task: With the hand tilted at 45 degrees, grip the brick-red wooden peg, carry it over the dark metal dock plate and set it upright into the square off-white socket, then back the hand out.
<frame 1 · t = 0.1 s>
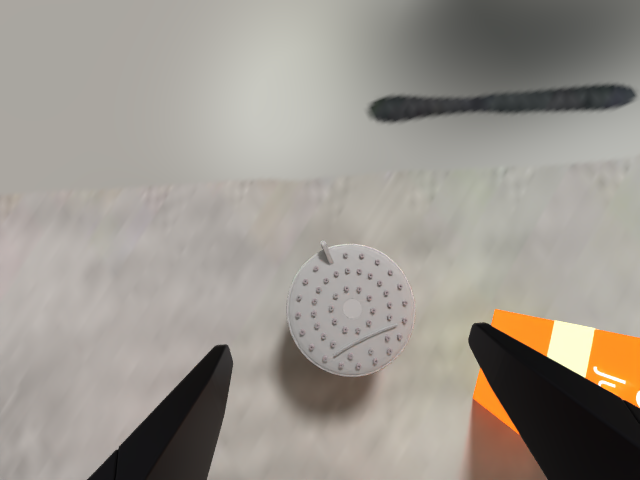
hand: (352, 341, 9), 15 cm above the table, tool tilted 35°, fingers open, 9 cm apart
orange juice: (519, 365, 23), on the table
showerhead: (340, 295, 24), on the table
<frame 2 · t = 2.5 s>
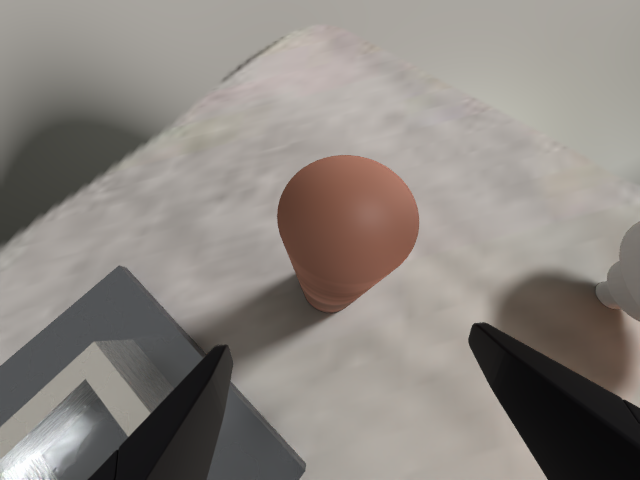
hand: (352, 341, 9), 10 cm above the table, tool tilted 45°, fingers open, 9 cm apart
dock: (123, 442, 16), on the table
showerhead: (606, 292, 20), on the table
peg: (329, 284, 20), on the table
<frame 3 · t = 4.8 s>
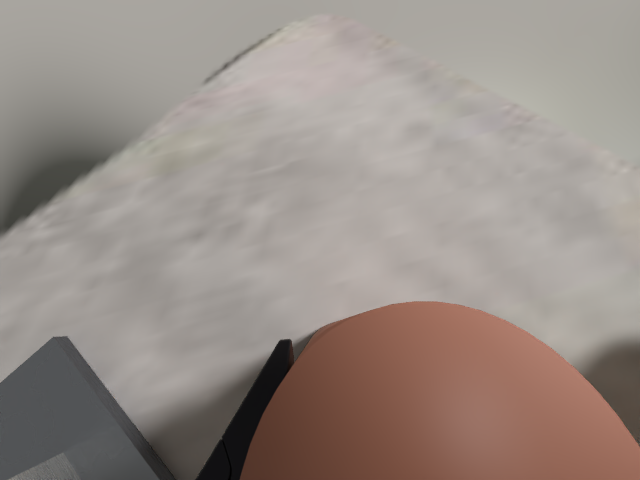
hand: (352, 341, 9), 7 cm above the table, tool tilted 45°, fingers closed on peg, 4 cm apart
peg: (340, 360, 15), on the table, touching gripper
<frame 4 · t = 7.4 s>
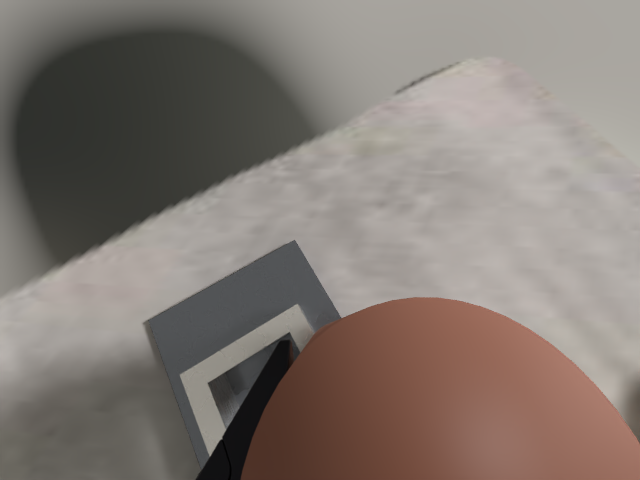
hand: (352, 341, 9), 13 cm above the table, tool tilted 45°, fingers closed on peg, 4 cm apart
dock: (279, 385, 19), on the table
peg: (340, 359, 15), point 6 cm above the table, touching gripper
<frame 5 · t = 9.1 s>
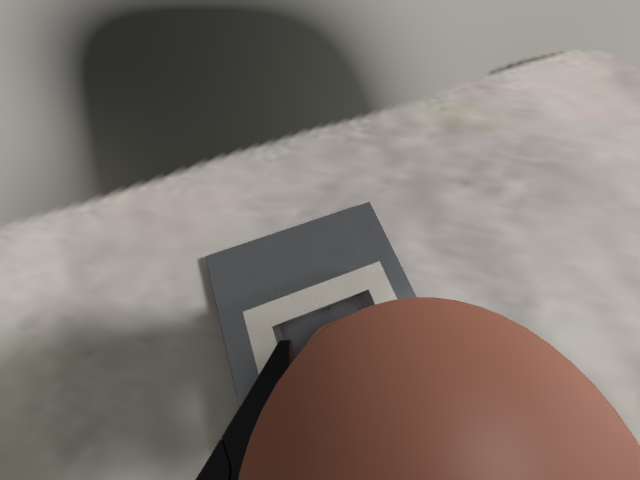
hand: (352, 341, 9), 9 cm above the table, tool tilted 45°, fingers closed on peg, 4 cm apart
dock: (335, 353, 17), on the table
peg: (340, 359, 15), point 3 cm above the table, touching gripper
when the fingers open (9 cm above the table, at t = 10.2 s): peg drops 2 cm, resting on dock.
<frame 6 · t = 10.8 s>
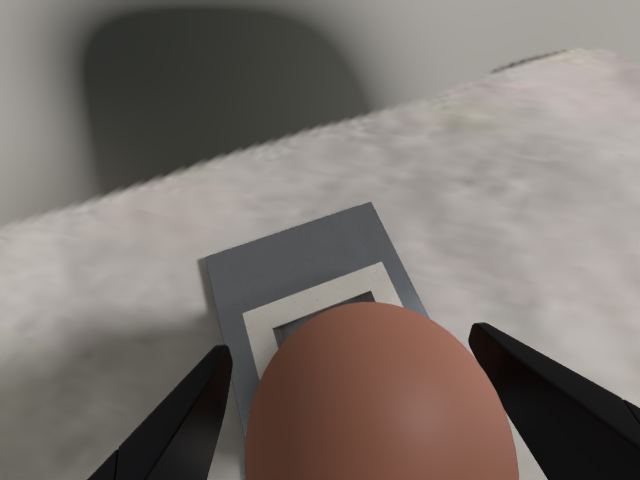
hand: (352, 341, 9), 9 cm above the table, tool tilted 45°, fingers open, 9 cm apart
dock: (337, 355, 17), on the table
peg: (338, 357, 16), point 1 cm above the table, touching dock
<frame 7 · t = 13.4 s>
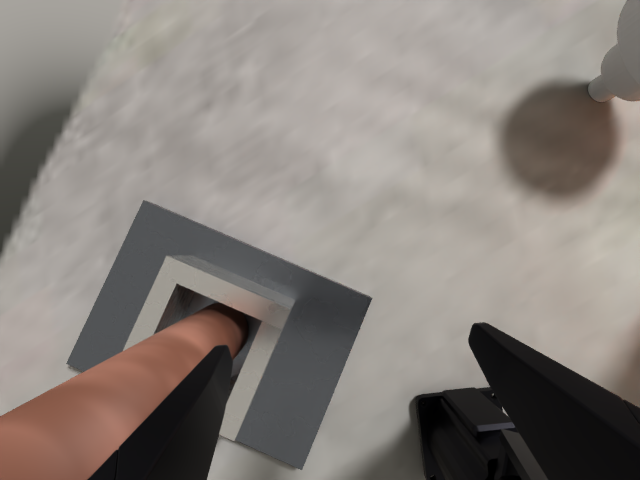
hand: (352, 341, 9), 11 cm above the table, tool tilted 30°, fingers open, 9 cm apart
dock: (224, 327, 20), on the table
showerhead: (598, 88, 21), on the table
peg: (220, 331, 19), point 1 cm above the table, touching dock
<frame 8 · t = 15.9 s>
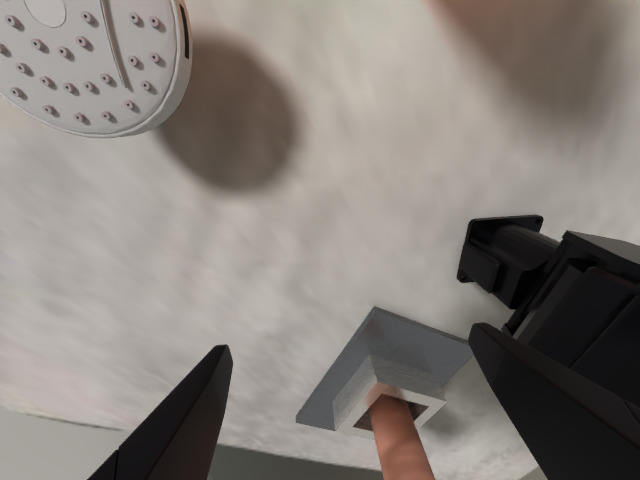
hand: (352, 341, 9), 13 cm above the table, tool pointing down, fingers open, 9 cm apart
dock: (379, 382, 30), on the table
showerhead: (145, 53, 15), on the table
peg: (381, 388, 29), point 1 cm above the table, touching dock
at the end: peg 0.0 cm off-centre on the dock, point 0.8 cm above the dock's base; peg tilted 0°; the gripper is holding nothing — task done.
